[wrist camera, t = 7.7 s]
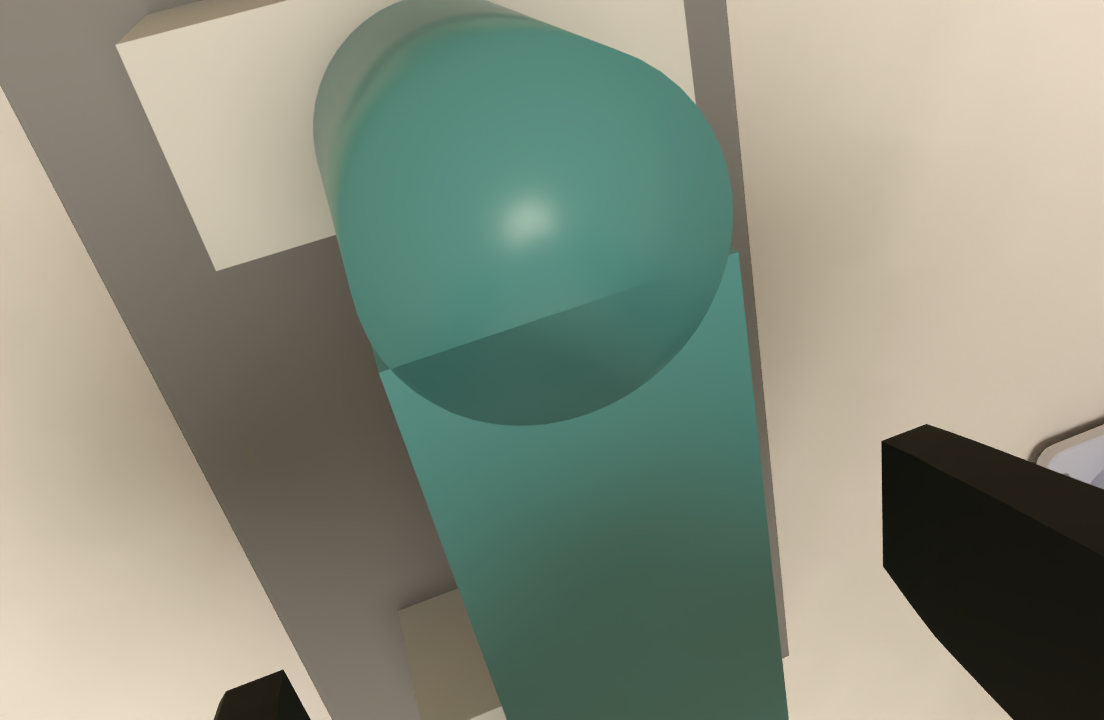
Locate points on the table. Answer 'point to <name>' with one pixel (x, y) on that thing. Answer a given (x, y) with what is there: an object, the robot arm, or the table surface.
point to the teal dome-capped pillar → (561, 355)
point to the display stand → (295, 299)
